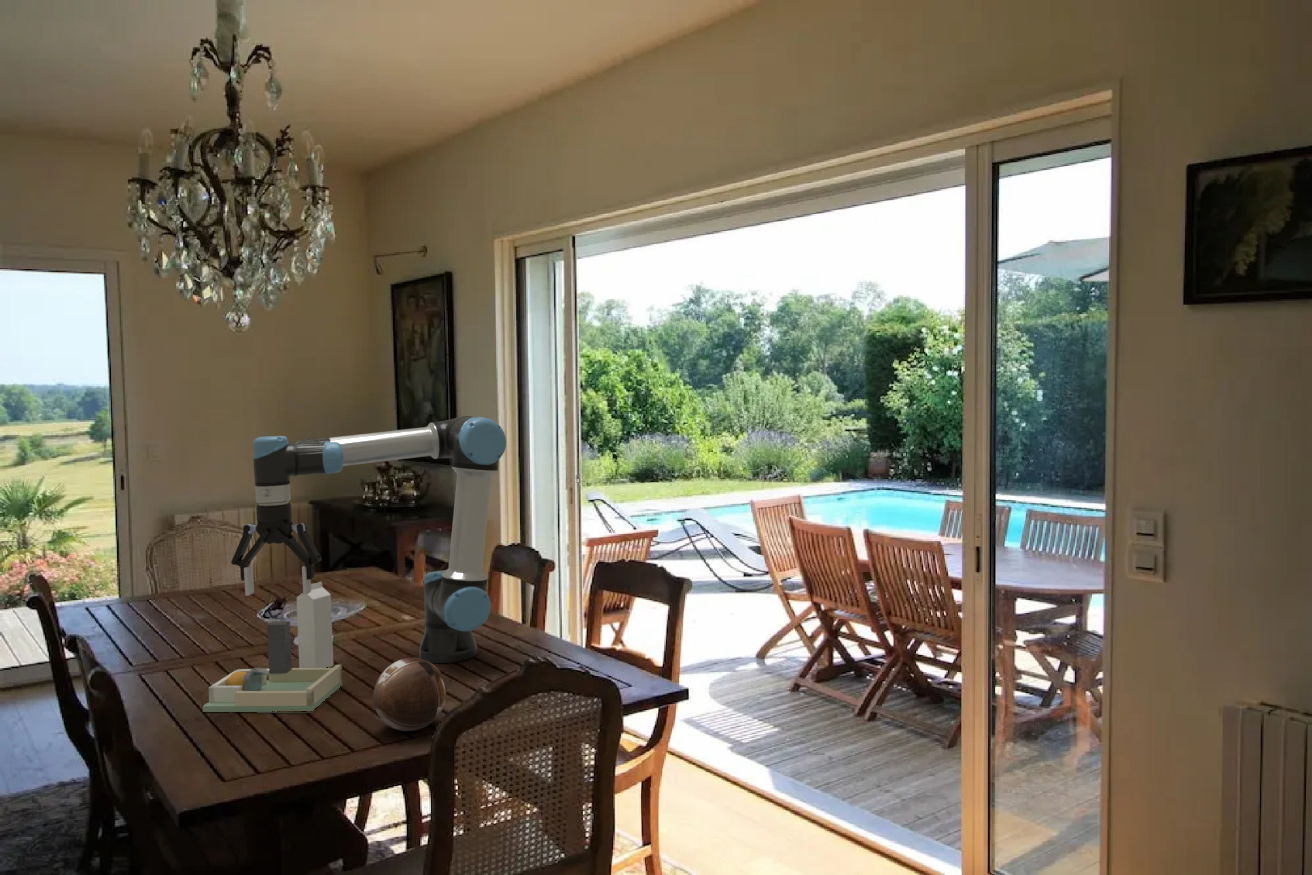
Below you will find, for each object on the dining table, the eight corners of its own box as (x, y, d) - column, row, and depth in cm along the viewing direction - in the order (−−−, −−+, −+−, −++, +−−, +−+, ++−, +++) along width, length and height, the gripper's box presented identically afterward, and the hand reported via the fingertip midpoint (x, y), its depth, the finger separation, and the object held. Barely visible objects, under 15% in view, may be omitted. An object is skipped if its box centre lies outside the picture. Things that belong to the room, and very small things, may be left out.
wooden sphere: (359, 733, 195) (356, 662, 194) (414, 711, 208) (412, 645, 207) (408, 747, 187) (405, 674, 186) (462, 724, 199) (460, 655, 199)
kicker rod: (295, 686, 221) (292, 619, 220) (284, 695, 215) (281, 626, 214) (256, 686, 221) (253, 619, 220) (244, 695, 215) (241, 626, 214)
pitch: (342, 685, 226) (341, 664, 226) (312, 712, 208) (311, 688, 208) (241, 686, 227) (240, 665, 227) (202, 712, 209) (201, 689, 209)
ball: (230, 681, 221) (247, 693, 221) (219, 688, 216) (237, 700, 216) (240, 664, 220) (258, 675, 220) (230, 670, 215) (248, 682, 215)
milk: (299, 669, 240) (295, 585, 239) (317, 662, 246) (313, 580, 244) (316, 672, 238) (312, 586, 236) (334, 665, 243) (330, 582, 242)
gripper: (212, 506, 212) (217, 598, 213) (320, 504, 211) (324, 596, 212) (228, 502, 219) (233, 590, 221) (332, 499, 218) (337, 589, 220)
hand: (278, 593), depth 216 cm, fingers open, 13 cm apart
